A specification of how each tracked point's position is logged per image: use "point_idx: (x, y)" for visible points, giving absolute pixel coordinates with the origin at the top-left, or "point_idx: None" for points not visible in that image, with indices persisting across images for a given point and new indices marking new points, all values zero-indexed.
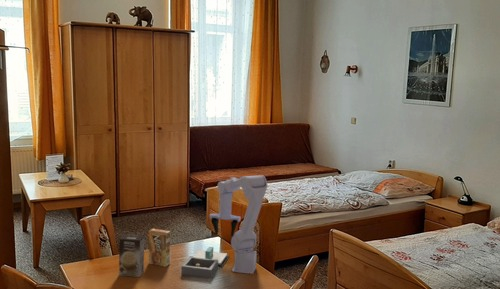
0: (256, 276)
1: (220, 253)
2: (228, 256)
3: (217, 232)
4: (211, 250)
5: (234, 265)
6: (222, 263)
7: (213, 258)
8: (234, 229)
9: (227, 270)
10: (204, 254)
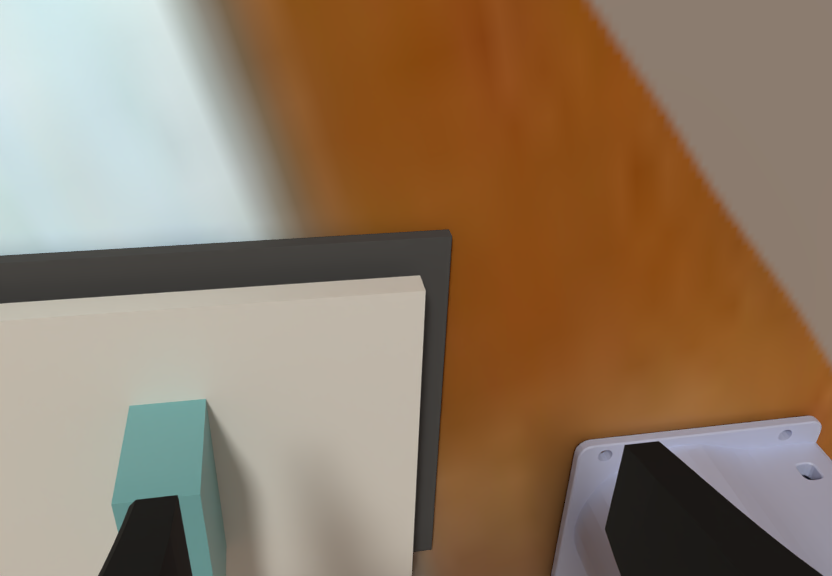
0: None
1: (311, 326)
2: (437, 260)
3: (182, 557)
4: (214, 564)
5: (585, 566)
6: None
7: (273, 513)
8: (770, 560)
9: (499, 572)
10: (67, 448)
